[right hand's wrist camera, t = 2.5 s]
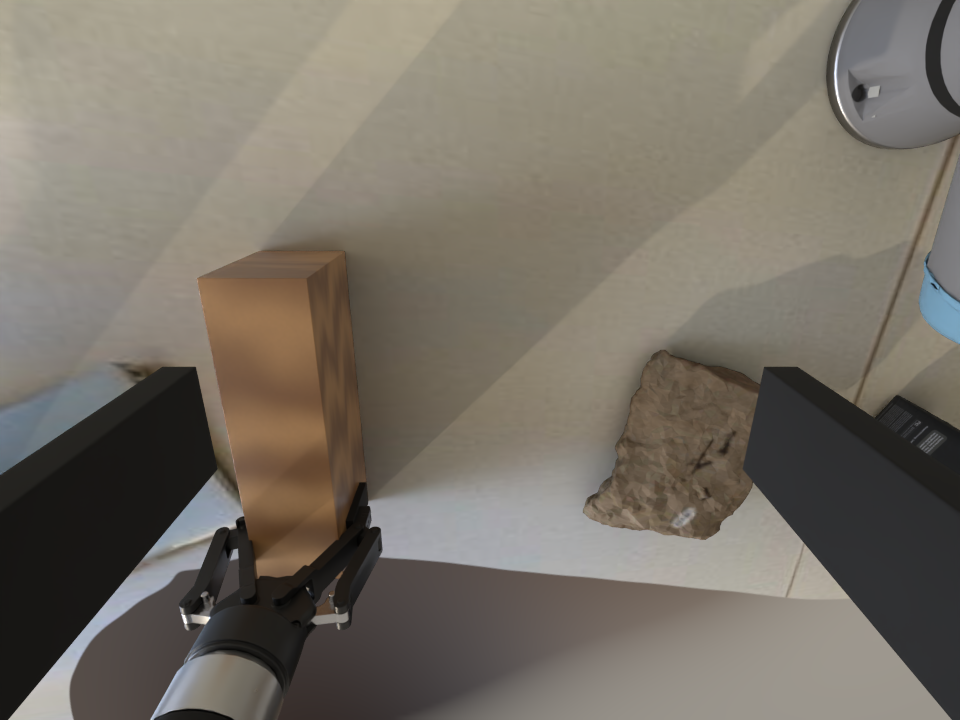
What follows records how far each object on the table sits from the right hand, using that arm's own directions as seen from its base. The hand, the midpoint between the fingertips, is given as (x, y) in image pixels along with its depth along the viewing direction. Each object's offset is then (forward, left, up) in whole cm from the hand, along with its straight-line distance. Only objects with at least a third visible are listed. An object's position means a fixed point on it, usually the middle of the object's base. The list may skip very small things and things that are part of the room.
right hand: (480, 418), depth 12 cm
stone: (-27, +18, -41) cm, 52 cm away
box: (+12, +22, -41) cm, 48 cm away
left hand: (+9, +32, -38) cm, 51 cm away
